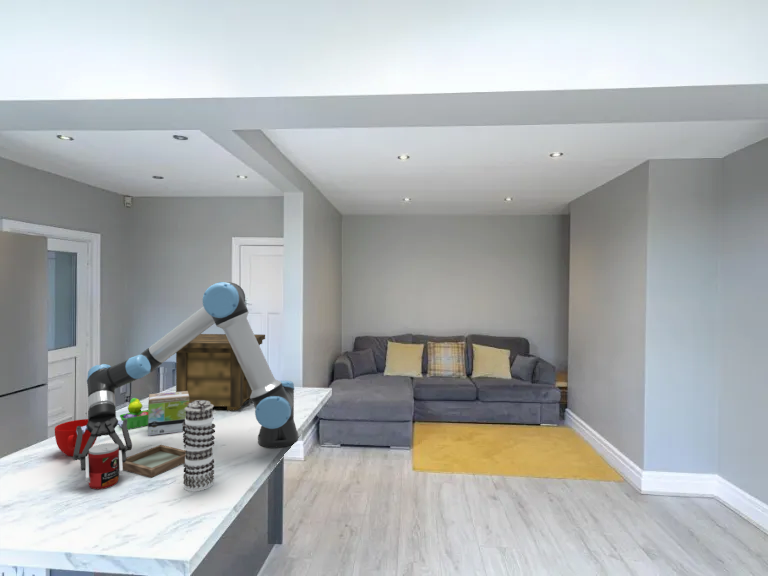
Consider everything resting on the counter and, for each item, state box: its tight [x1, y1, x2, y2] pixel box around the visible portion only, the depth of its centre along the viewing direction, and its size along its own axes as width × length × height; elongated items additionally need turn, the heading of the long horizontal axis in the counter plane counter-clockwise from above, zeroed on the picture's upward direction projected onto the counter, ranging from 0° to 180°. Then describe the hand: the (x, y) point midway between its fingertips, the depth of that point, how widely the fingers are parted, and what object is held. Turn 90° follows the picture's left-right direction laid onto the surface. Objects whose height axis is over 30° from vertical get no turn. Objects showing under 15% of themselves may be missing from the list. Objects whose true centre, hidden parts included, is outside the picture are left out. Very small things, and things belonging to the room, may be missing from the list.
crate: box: [175, 333, 266, 412], centre depth 222 cm, size 35×35×33 cm
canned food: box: [87, 442, 120, 490], centre depth 132 cm, size 8×8×11 cm
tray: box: [122, 444, 186, 479], centre depth 147 cm, size 16×16×2 cm
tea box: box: [147, 391, 189, 437], centre depth 181 cm, size 15×10×15 cm, turn 117°
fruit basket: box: [119, 397, 148, 430], centre depth 186 cm, size 11×9×11 cm
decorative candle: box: [182, 400, 216, 492], centre depth 132 cm, size 9×9×25 cm
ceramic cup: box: [54, 418, 98, 457], centre depth 155 cm, size 13×17×10 cm
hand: (104, 475), depth 130 cm, fingers closed on canned food, 8 cm apart
